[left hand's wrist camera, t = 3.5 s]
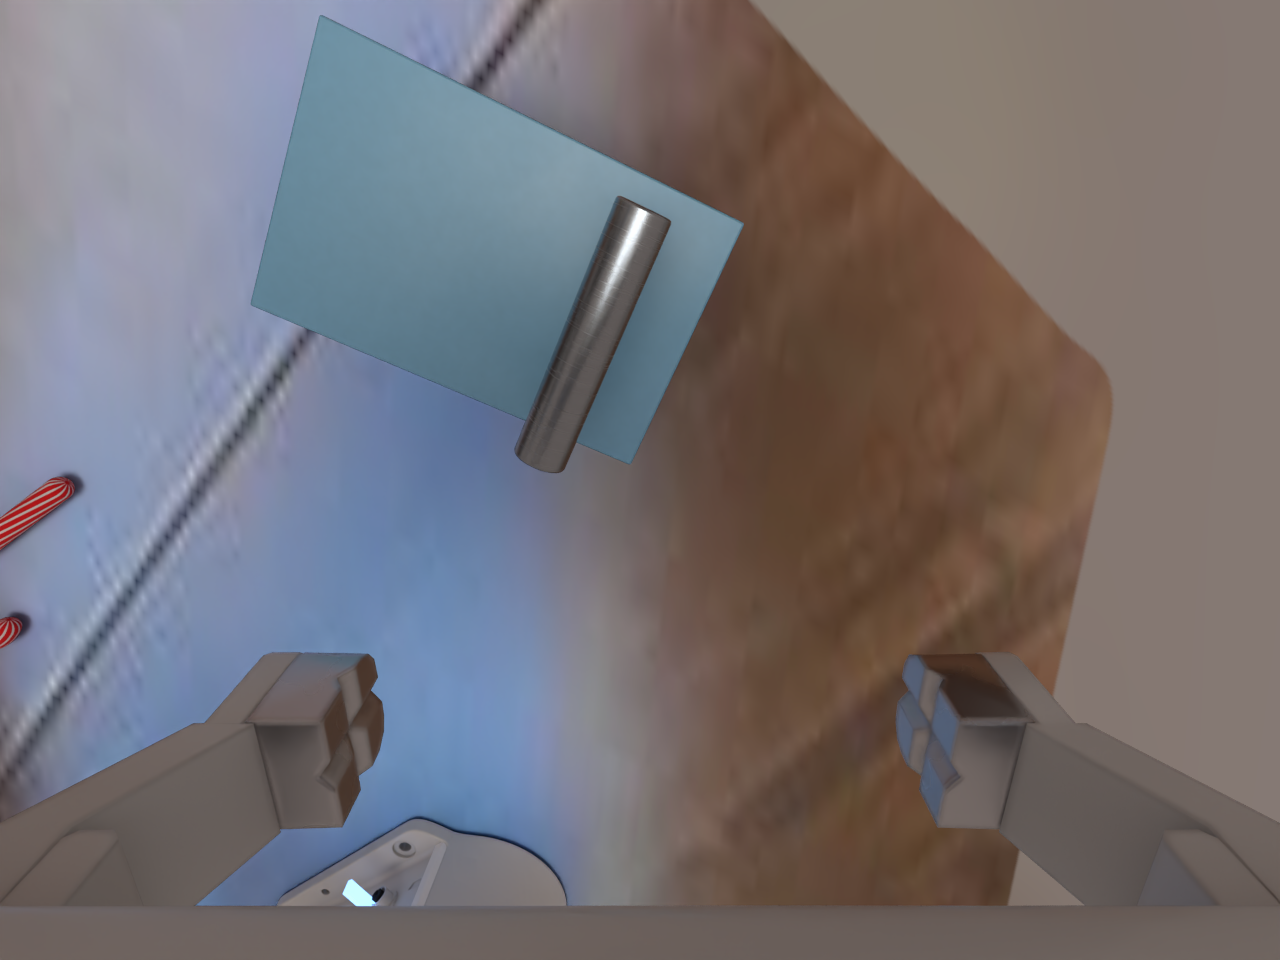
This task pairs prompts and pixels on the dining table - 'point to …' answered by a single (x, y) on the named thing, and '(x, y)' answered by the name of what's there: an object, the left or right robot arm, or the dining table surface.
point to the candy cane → (23, 519)
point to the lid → (485, 250)
